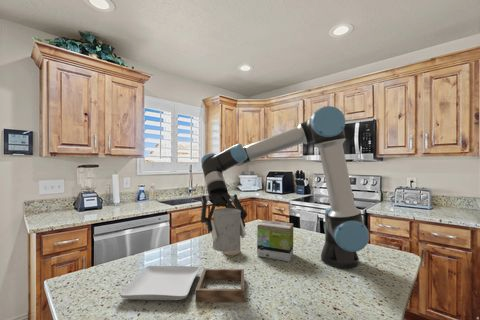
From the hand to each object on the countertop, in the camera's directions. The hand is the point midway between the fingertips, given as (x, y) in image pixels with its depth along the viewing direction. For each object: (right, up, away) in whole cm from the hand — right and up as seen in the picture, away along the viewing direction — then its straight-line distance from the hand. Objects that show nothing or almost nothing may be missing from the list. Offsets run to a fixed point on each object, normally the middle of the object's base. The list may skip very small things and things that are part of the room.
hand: (229, 237), depth 80 cm
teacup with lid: (-1, -18, +36) cm, 41 cm away
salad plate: (-23, -18, +3) cm, 29 cm away
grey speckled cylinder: (-1, -4, +3) cm, 5 cm away
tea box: (+20, -18, +31) cm, 41 cm away
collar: (-3, -18, +1) cm, 18 cm away
